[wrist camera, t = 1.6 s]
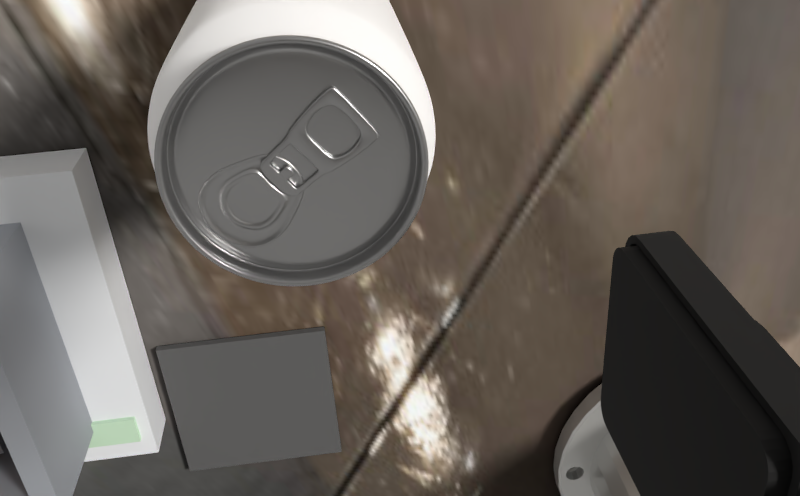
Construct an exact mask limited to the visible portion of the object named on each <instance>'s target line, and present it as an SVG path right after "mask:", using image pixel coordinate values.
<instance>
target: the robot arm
mask: <svg viewBox="0 0 800 496" xmlns="http://www.w3.org/2000/svg"><path fill="white" fill-rule="evenodd" d="M553 468H554V475H555V481H556V485H557V487H558V490H559V492H560V495H561V496H800V367H799V366H798V365H797V364H796V363H795V362H794V360H793V359H792V358H791V357H790V356H789V355H788V354H787V353H786V351H785V350H784V349H783V348H782V347H781V346H780V345H779V344H778V343H777V341H776V340H775V339H774V338H773V337H772V336H771V335H770V334H769V332H768V331H767V330H766V329H765V328H764V327H763V326H762V325H760V324H759V323H758V322H757V321H756V320H754V319H753V318H752V317H751V316H750V315H749V314H748V312H747V311H746V310H745V309H744V308H743V307H742V306H741V305H740V303H739V302H738V301H737V300H736V299H735V298H734V297H733V296H732V294H731V293H730V292H729V291H728V290H727V289H726V288H725V287H724V285H723V284H722V283H721V282H720V281H719V280H718V279H717V277H716V276H715V275H714V274H713V273H712V272H711V271H710V270H709V268H708V267H707V266H706V265H705V264H704V263H703V262H702V261H701V259H700V258H699V257H698V256H697V255H696V254H695V253H694V252H693V250H692V249H691V248H690V247H689V246H688V245H687V244H686V243H685V241H684V240H683V239H682V238H681V237H680V236H679V235H678V234H677V233H676V232H674V231H665V232H657V233H649V234H640V235H632V236H630V237H629V238H628V240H627V242H626V246H625V247H622V248H617V249H616V250H615V252H614V256H613V265H612V276H611V287H610V298H609V310H608V321H607V332H606V344H605V355H604V366H603V378H602V383H601V384H600V385H599V386H598V387H597V388H595V389H594V390H593V391H592V392H591V393H589V394H588V395H587V397H586V398H585V399H584V400H583V401H582V402H581V403H580V405H579V406H578V407H577V408H576V409H575V410H574V411H573V413H572V414H571V416H570V418H569V419H568V421H567V423H566V424H565V426H564V428H563V429H562V431H561V434H560V437H559V440H558V442H557V445H556V448H555V455H554V464H553Z"/></svg>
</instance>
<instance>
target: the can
mask: <svg viewBox="0 0 800 496" xmlns="http://www.w3.org/2000/svg"><path fill="white" fill-rule="evenodd" d="M147 133H148V145H149V151H150V156H151V161H152V164H153V168H154V170H155V176H156V181H157V186H158V190H159V193H160V196H161V199H162V202H163V204H164V206H165V208H166V211H167V213H168V214H169V216H170V218H171V220H172V221H173V223H174V224H175V226H176V227H177V229H178V230H179V231H180V233H181V234H182V235H183V236H184V238H185V239H186V240H187V241H188V242H189V243H190V244H191V245H192V246H193V247H194V248H195V249H196V250H197V251H199V252H200V253H201V254H202V255H203V256H205V257H206V258H207V259H209V260H210V261H212V262H213V263H215V264H216V265H218V266H220V267H222V268H223V269H225V270H227V271H229V272H231V273H234V274H236V275H238V276H241V277H244V278H247V279H250V280H253V281H257V282H261V283H266V284H271V285H279V286H309V285H317V284H322V283H327V282H331V281H335V280H338V279H341V278H344V277H347V276H349V275H352V274H354V273H356V272H358V271H360V270H362V269H364V268H366V267H367V266H369V265H371V264H372V263H374V262H375V261H377V260H378V259H379V258H381V257H382V256H383V255H385V254H386V253H387V252H388V251H389V250H390V249H391V248H392V247H393V246H394V245H395V244H396V243H397V242H398V241H399V240H400V239H401V238H402V236H403V235H404V234H405V232H406V231H407V230H408V228H409V227H410V225H411V223H412V222H413V220H414V218H415V216H416V214H417V212H418V210H419V208H420V205H421V203H422V200H423V197H424V193H425V189H426V185H427V179H428V177H429V174H430V170H431V167H432V163H433V158H434V151H435V137H436V134H435V120H434V112H433V106H432V102H431V98H430V94H429V91H428V88H427V86H426V83H425V80H424V77H423V75H422V72H421V70H420V68H419V65H418V63H417V61H416V58H415V56H414V54H413V52H412V49H411V47H410V45H409V43H408V40H407V38H406V36H405V34H404V32H403V30H402V27H401V25H400V23H399V21H398V19H397V17H396V14H395V12H394V10H393V8H392V6H391V4H390V2H389V0H197V1H196V2H195V4H194V6H193V8H192V10H191V12H190V13H189V15H188V17H187V19H186V21H185V23H184V25H183V26H182V28H181V30H180V32H179V34H178V36H177V38H176V40H175V42H174V44H173V45H172V47H171V49H170V51H169V53H168V55H167V57H166V59H165V61H164V63H163V65H162V68H161V70H160V72H159V75H158V77H157V80H156V82H155V85H154V88H153V92H152V96H151V101H150V106H149V113H148V125H147Z"/></svg>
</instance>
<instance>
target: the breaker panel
mask: <svg viewBox="0 0 800 496" xmlns="http://www.w3.org/2000/svg"><path fill="white" fill-rule="evenodd" d="M165 421H166V419H165V415H164V412H163V408H162V405H161V401H160V398H159V395H158V391H157V388H156V384H155V381H154V378H153V374H152V371H151V367H150V364H149V360H148V357H147V354H146V350H145V347H144V343H143V340H142V337H141V333H140V330H139V326H138V323H137V319H136V316H135V313H134V309H133V306H132V302H131V299H130V296H129V292H128V289H127V285H126V282H125V279H124V275H123V272H122V268H121V265H120V261H119V258H118V255H117V251H116V248H115V244H114V241H113V238H112V234H111V231H110V227H109V224H108V220H107V217H106V214H105V210H104V207H103V203H102V200H101V197H100V193H99V190H98V186H97V183H96V179H95V176H94V173H93V169H92V166H91V162H90V159H89V156H88V152H87V149H86V148H80V149H70V150H60V151H50V152H40V153H30V154H21V155H11V156H1V157H0V496H73V493H74V490H75V487H76V484H77V481H78V478H79V475H80V472H81V469H82V466H83V463H84V462H86V461H94V460H102V459H110V458H117V457H125V456H133V455H141V454H149V453H157V452H159V448H160V443H161V439H162V434H163V430H164V425H165Z"/></svg>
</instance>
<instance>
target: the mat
mask: <svg viewBox="0 0 800 496" xmlns="http://www.w3.org/2000/svg"><path fill="white" fill-rule="evenodd" d="M156 353H157V357H158V360H159V364H160V367H161V371H162V375H163V378H164V382H165V385H166V389H167V392H168V396H169V399H170V403H171V406H172V410H173V413H174V417H175V420H176V424H177V427H178V431H179V434H180V438H181V441H182V445H183V448H184V452H185V455H186V459H187V462H188V466H189V469H190V471H196V470H204V469H212V468H219V467H227V466H235V465H243V464H250V463H258V462H266V461H273V460H281V459H289V458H297V457H304V456H312V455H320V454H327V453H335V452H341V442H340V435H339V428H338V421H337V414H336V407H335V400H334V393H333V386H332V379H331V371H330V364H329V357H328V350H327V343H326V336H325V329H324V327H316V328H308V329H299V330H291V331H282V332H274V333H266V334H257V335H249V336H240V337H232V338H223V339H215V340H207V341H198V342H190V343H181V344H173V345H164V346H157V348H156Z"/></svg>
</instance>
